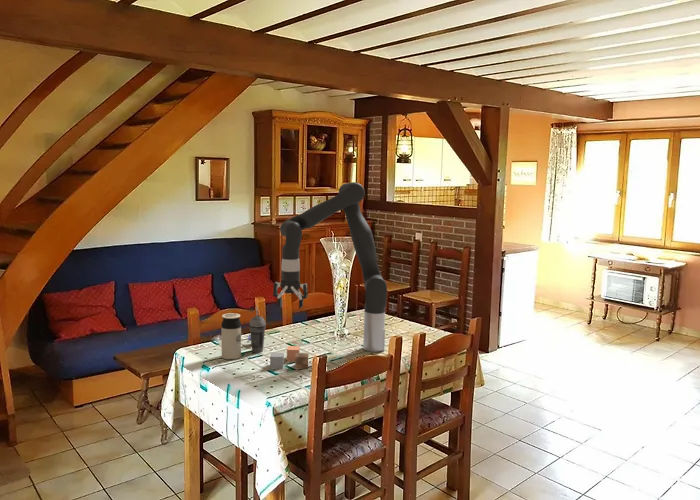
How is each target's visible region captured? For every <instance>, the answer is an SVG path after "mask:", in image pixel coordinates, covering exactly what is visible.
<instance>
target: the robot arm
mask: <svg viewBox="0 0 700 500" xmlns="http://www.w3.org/2000/svg"><path fill="white" fill-rule="evenodd" d="M365 194H366V192H365V188H364V186H363V185H362V184H361V183H359V182H354V181H353V182H345V183H343V184H342V185H340V186H339V189H338V194H336V195H334V196H333V197H331V198H329V199H327V200H324V201H322V202H320V203H318V204H315V205H314V206H312V207H310V208H308V209H307V210H305V211H303V212H302V213H299V214H297V215H295V216H293V217H290V218H287V220H285V221H283V222H282V223H281V224H280V229H279V230H280V231H279V232H280V233H281V235H282V236H283V237H285V243H284V245H283V246H282V248H281V249H282V250H281V252H282V253H281V266H280V269H281V281H280V282H278V281H275V282H273V290H272V292H273V293H272V296H273V297H274V298H277V306H278V308H282V307H283V297H282V296H283V295H284V294H287V295H288V294H291V295H294V294H295V295H296V297H297V298H298V309H302V307H304V299H307V298H308V296H309V295H308V294H309V293H308V292H309V291H308V283H307V282H306V283H301V281H300V279H301V278H300V277H301V273H300V271H301V270H300V269H301V267H300V266H301V264H300V263H301V262H300V247H301V242H302V237H303V230H305V229H311V228H313V227H314V226H316V225H318V224H319V223H321V222H323V221H324V220H326V219H327V218H329V217H331V216H332V215H334V214H335V213H338V212H339V211H342V210H343V212H344V214H345V218H346V221H347V226H348V230H349V233H350V237H351V240H352V241H351V242H352V244H353V249H354V251H355V254H356V257H357V259H358V262H359V264H360V267H361V271H362V279H363V286H364V290H365V303H364V309H363V311H364V312H363V313H364V314H363V340H362V341H363V345H362V349H364V351H367V352H373V353H374V352H375V353H376V352H382V351H383V352H384V351H385V342H386V339H385V338H386V328H385V323H386V321H385V320H386V307H387V300H388V285H387V282H386V281H385V279H384V278H383V276H382V274H381V271H380V267H379V265H378V262H377V261H378V260H377V250H376V244H375V240H374V235H373V231H372V229H371V228H370V225H369V224H368V222H367V220H366V218H365V217H364V215H363V214H362V211H361V208H360V204H359V203H360V202H362V201H363V199H364V198H365ZM280 287H281V289H282V290H281V291H280V293H278V291H279V288H280ZM300 288H301V289H302V290H303V292H301V290H300ZM302 293H303V294H302Z"/></svg>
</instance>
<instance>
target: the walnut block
mask: <svg viewBox="0 0 700 500" xmlns="http://www.w3.org/2000/svg"><path fill="white" fill-rule="evenodd" d="M294 363H295V367H294V369H295V370H309V353H308V352H300V353H296V357H295V361H294Z"/></svg>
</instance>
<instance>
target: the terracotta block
mask: <svg viewBox="0 0 700 500" xmlns="http://www.w3.org/2000/svg"><path fill="white" fill-rule="evenodd" d="M300 349H301V348H300V346H299V345H287V348H286V362H295V357H296V353H301V352H300Z"/></svg>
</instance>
